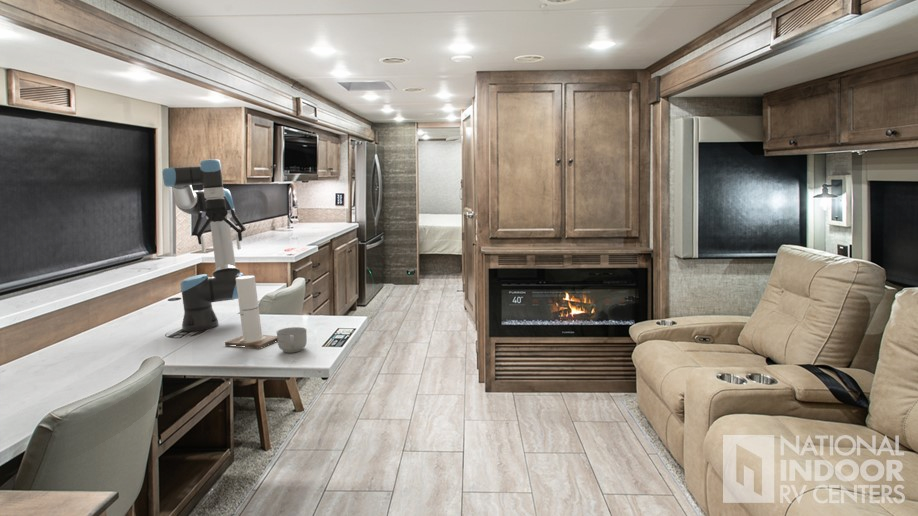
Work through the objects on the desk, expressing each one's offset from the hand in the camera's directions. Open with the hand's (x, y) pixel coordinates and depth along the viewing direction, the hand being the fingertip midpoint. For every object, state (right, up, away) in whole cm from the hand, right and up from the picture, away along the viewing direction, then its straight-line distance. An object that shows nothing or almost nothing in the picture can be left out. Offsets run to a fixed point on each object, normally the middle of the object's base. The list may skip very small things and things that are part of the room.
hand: (221, 250), depth 246 cm
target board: (+14, -37, -4) cm, 40 cm away
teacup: (+35, -38, -20) cm, 55 cm away
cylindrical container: (+14, -35, -5) cm, 38 cm away
